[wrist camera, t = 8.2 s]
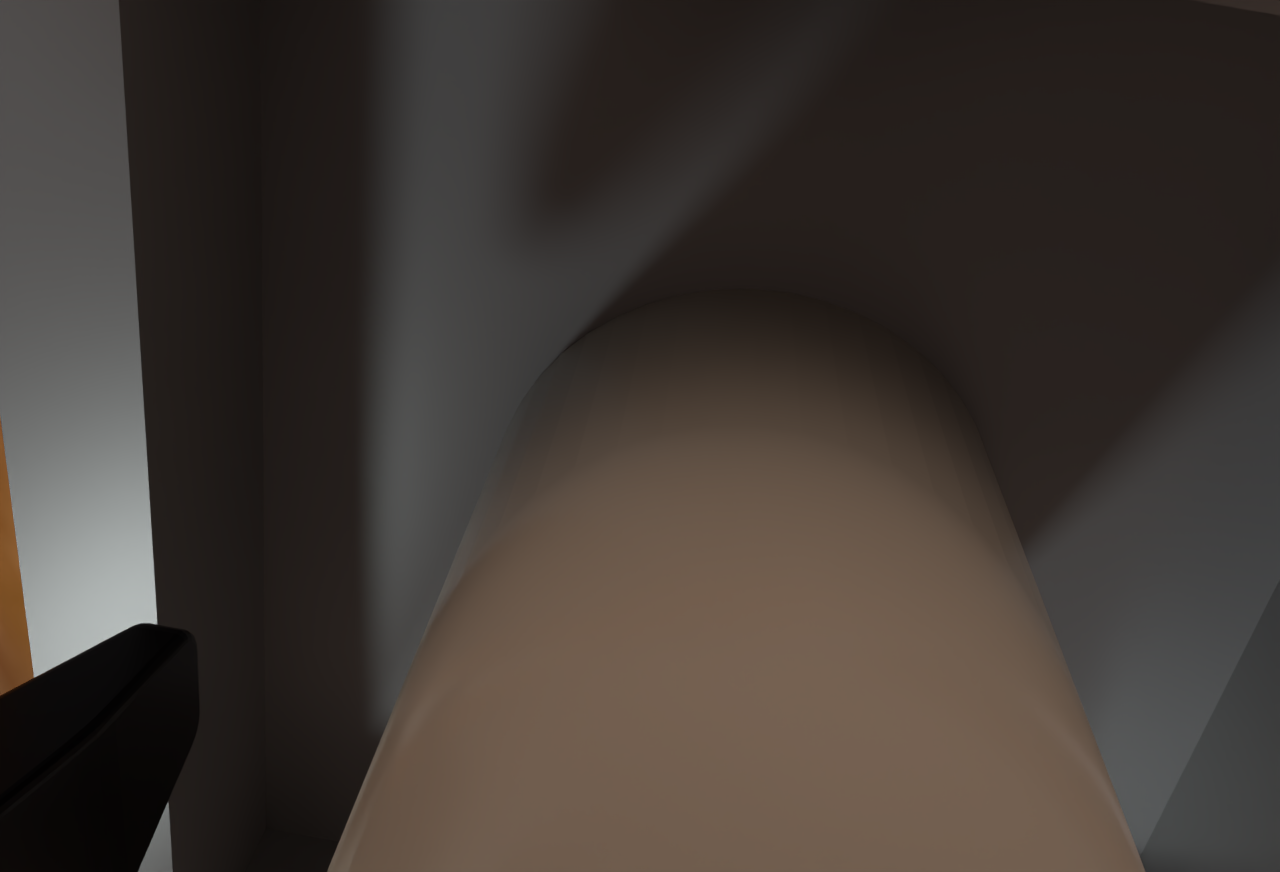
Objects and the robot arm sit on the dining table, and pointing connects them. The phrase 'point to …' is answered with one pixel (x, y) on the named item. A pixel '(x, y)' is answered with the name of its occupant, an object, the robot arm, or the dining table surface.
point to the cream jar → (739, 627)
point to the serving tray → (606, 288)
